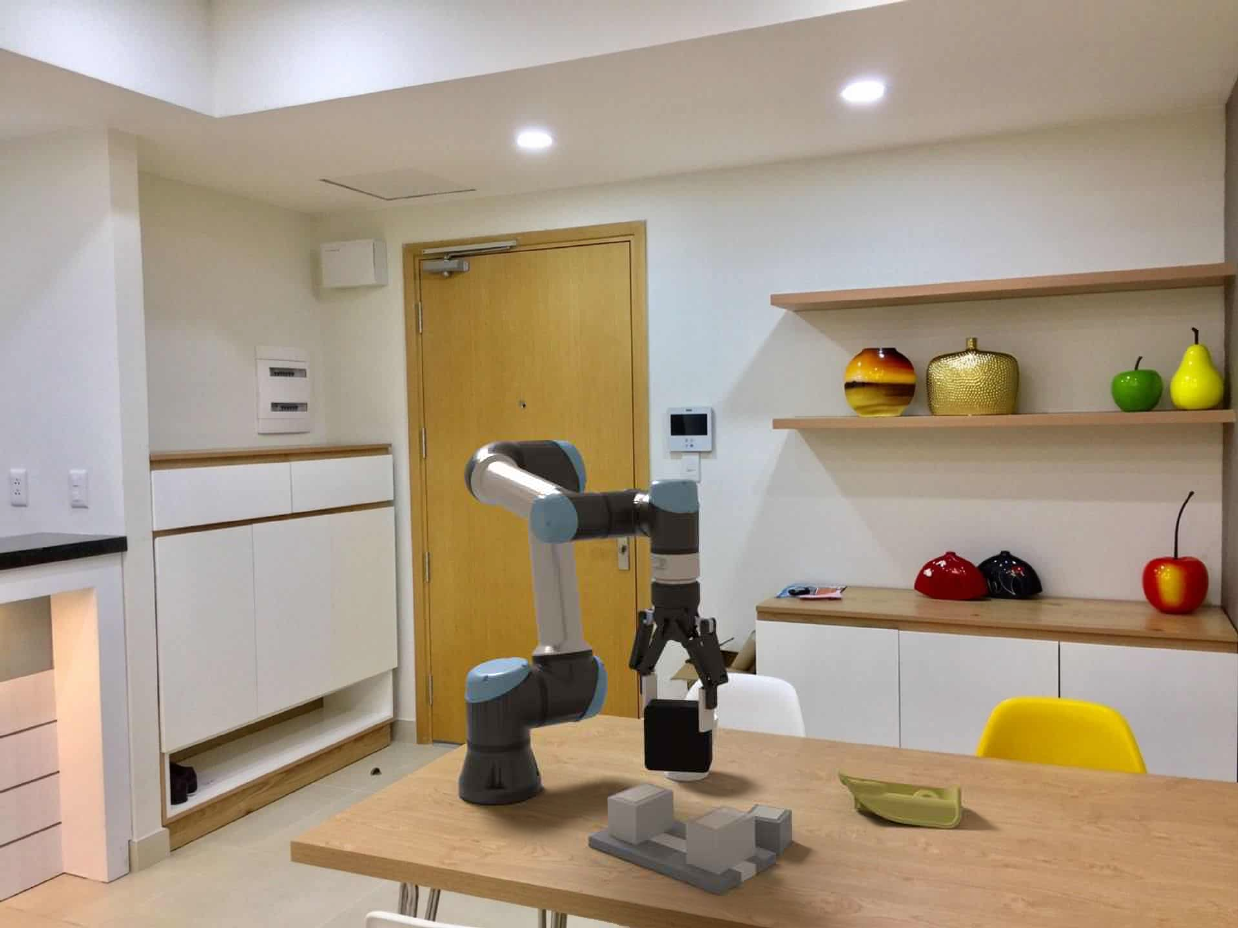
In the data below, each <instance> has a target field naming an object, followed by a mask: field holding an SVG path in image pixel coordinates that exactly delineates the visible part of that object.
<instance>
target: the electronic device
mask: <svg viewBox="0 0 1238 928" xmlns="http://www.w3.org/2000/svg"><path fill="white" fill-rule="evenodd" d="M643 746H644V747H643V749H644V750H643V751H644V752H643V753H644V758H643V759H644V768H645V769H646V770H647V771H654V772H664V771H670V772H690V773H707V772H708V771H710V768H711V765H712V763H713V759H714V758H713V745H712V729H711V730H708V731H705V732H700V731H699V699H698V700H697V699H696V700H695V699H694V700H693V699H668V698H667V699H666V698H665V699H663V698H658V699H651V700H650V701H647V704H645V708H644V718H643Z"/></svg>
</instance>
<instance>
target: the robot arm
mask: <svg viewBox="0 0 1238 928" xmlns="http://www.w3.org/2000/svg"><path fill="white" fill-rule="evenodd" d="M463 479H464V480H463V481H464V485H465V486H466V489H467V492H469V494H470V495H471V497H473V498H475V499H476V500H477V501H479V502H481V503H482V504H485V505H487V506H490V507H494V506H495V507H497V506H499V507H501V508H503V509H505V510H507V511H508V512H510V513H512V514H515V515H516V516H518V517H520V518H522V519H524V520H525V521H526V524H527V536H528V547H529V557H530V558H529V559H530V568H531V577H532V578H531V579H532V587H533V588H532V589H533V596H534V597H533V599H534V609H535V610H534V611H535V619H536V628H537V629H536V630H537V639H538V644H537V646H536V648H535V649H534V650H533V651H532V653H531V661H532V663H531V664H530V663H529V661H528V660H527V659H526V658H522V657H508V658H506V657H503V658H496V659H493V660H489V661H486V662H485V661H484V662H483V663H480V664H478V665H476V666H474V667H473V668H471V670H469V672H468V674H467V676H466V678H465V693H464V699H465V710H466V711H465V712H466V713H465V715H466V722H465V723H466V753H465V757H464V761H463V765H462V768H461V772H460V775H459V777H458V779H457V780H458V782H457V785H458V786H457V787H458V789H457V790H458V796H459V797H460V798H462V799H463V800H465V801H468V802H471V803H476V804H482V805H504V804H512V803H517V802H522V801H524V800H527V799H531V798H533V797H534V796H535V795H537V794H538V793H540V792H541V789H542V775H541V774H542V773H541V771H540V770H539V767H538V764H537V760H536V757H535V755H534V752H533V750H532V744H531V743H532V742H531V741H532V739H531V736H532V735H531V733H532V732H531V730H532V729H538V728H544V727H545V728H546V727H549V726H556V725H557V726H558V725H561V724H562V725H563V724H568V723H580V722H581V721H584V720H589V719H592V718H595V717H596V716H597V715H599V713H600V712H601V711H602V710H603V707H604V705H605V703H606V700H607V697H608V688H609V679H608V672H607V668H606V667H605V663H604V661H603V660H602V658H600V657H599V656H597V655H595V654H594V652H593V646H592V645H591V644H589V643H588V642H587V641H586V640H585V639H584V634H583V624H582V614H581V604H580V592H579V585H578V575H577V574H578V573H577V564H576V554H575V553H576V552H575V544H574V542H584V541H585V542H587V541H593V540H594V541H596V540H598V541H599V540H612V539H623V538H624V539H625V538H639V537H640V538H648V539H649V541H650V544H649V547H650V548H649V549H650V551H649V552H650V578H652V579H653V581H652V582H651V583H650V600H651V605H652V606H653V607H654V609H652V608H649V609H643V610H642V609H641V610H638V612H637V628H636V633H635V637H634V642H633V644H632V645H633V646H632V649H631V653H630V656H629V657H630V658H629V662H628V668H629V669H630V671H631V670H634V671H635V672H637V674H638V676H639V680H638V681H639V694H640V695H641V696H642V697H641V698H642V718H643V719H644V708H645V704H647V701H650V700H651V699H659V698H658V673H654V672H656V671H657V670H656V669H655V667H656V666H657V663H658V661H659V659H660V657H661V655H662V653H663V651H664V650H665V647H666V645H667V644H668V643H669V641H674V642H676V643H680V644H681V646H682V648H683V649H685V650H686V652H687V654H688V657H689V659H690V661H691V663H692V666H693V668H694V669H695V672H696V674H697V676H698V678H699V681H700V682H701V686H700V687H698V700H699V731H700V732H705V731H708V730H711V729H714V713H715V709H717V708H718V704H719V703H718V687H719V686H722V685H725V684H728V683H729V681H730V679H729V674H728V672H727V668H726V664H725V660H724V657H723V653H722V649H721V647H720V641H719V639H718V638H719V637H718V634H717V620H716V618H715V617H709V618H707V617H706V618H705V617H701V616H700V613H699V611H698V610H699V606H700V604H701V583H700V582H699V580H697V579H698V578H700V576H701V564H700V561H701V560H700V558H701V557H700V506H701V505H700V502H699V491H698V484H697V482H696V481H695V480H693V479H689V478H667V479H664V478H662V479H660V478H659V479H653V480H652V481H650V484H649V487H648V488H649V489H648V490H647V489H641V488H637V487H635V488H625V489H622V490H612V491H610V490H609V491H595V492H594V491H593V492H585V491H586V487H587V486H586V484H587V469H586V465H585V461H584V459H583V457H582V455H581V453H580V451H579V449H577V447H576V446H575V445H574V444H573V443H571V442H569V441H567V440H554V439H541V440H540V439H539V440H536V439H535V440H514V441H512V440H506V441H505V440H502V441H501V440H500V441H494V442H491V443H488V444H486V445H484V446H482V447H480V448H479V449H477V450H475V452H474V453H472V455H470V457H469V459H468V460H467V462H466V465H465V468H464V473H463ZM654 624H655V625H656V627H655V629H654Z"/></svg>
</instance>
